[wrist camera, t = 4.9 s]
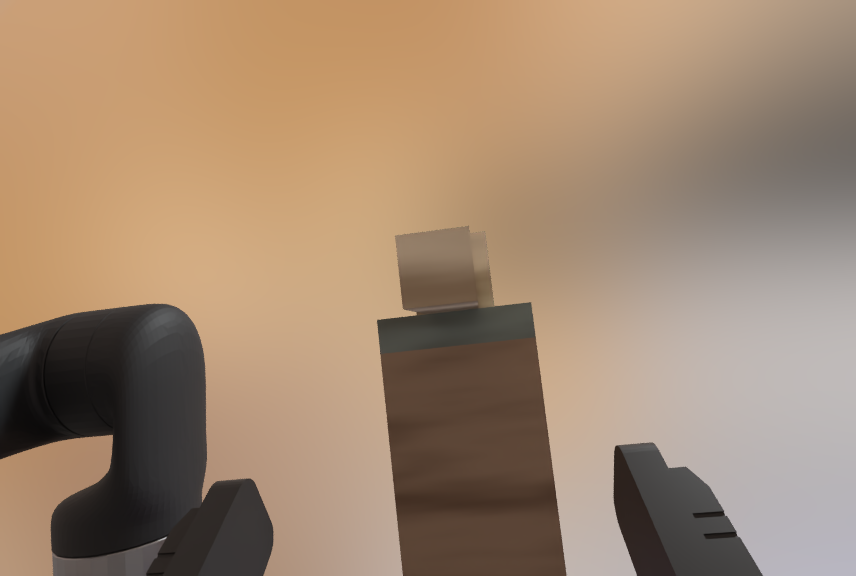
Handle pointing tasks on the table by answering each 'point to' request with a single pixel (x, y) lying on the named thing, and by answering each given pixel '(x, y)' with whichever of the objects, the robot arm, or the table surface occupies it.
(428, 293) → the maple key
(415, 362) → the teal-capped wooden post
